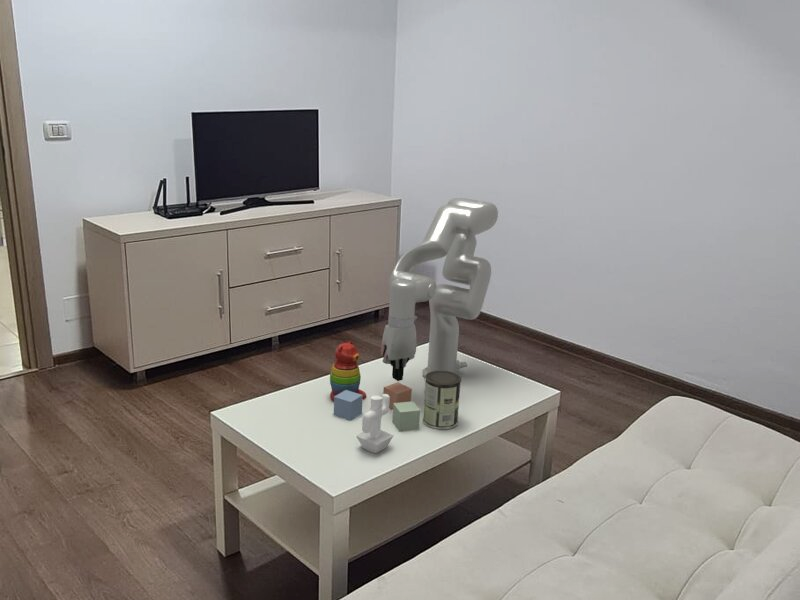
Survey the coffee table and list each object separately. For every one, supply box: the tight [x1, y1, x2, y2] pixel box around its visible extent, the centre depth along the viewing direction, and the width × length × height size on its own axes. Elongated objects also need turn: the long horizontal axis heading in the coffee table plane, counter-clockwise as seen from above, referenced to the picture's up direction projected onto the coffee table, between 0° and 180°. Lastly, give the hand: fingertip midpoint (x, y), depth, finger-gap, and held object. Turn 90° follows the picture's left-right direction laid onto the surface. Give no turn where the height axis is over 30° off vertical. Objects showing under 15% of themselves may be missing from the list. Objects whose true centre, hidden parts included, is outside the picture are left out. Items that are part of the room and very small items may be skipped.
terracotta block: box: [382, 381, 413, 411], centre depth 225 cm, size 6×6×6 cm
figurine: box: [356, 394, 394, 454], centre depth 198 cm, size 7×9×15 cm
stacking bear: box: [329, 341, 367, 403], centre depth 226 cm, size 11×10×18 cm
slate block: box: [333, 390, 364, 421], centre depth 218 cm, size 6×6×6 cm
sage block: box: [392, 400, 421, 432], centre depth 213 cm, size 6×6×6 cm
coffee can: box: [422, 371, 462, 430], centre depth 215 cm, size 10×10×14 cm
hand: (397, 379), depth 223 cm, fingers closed
